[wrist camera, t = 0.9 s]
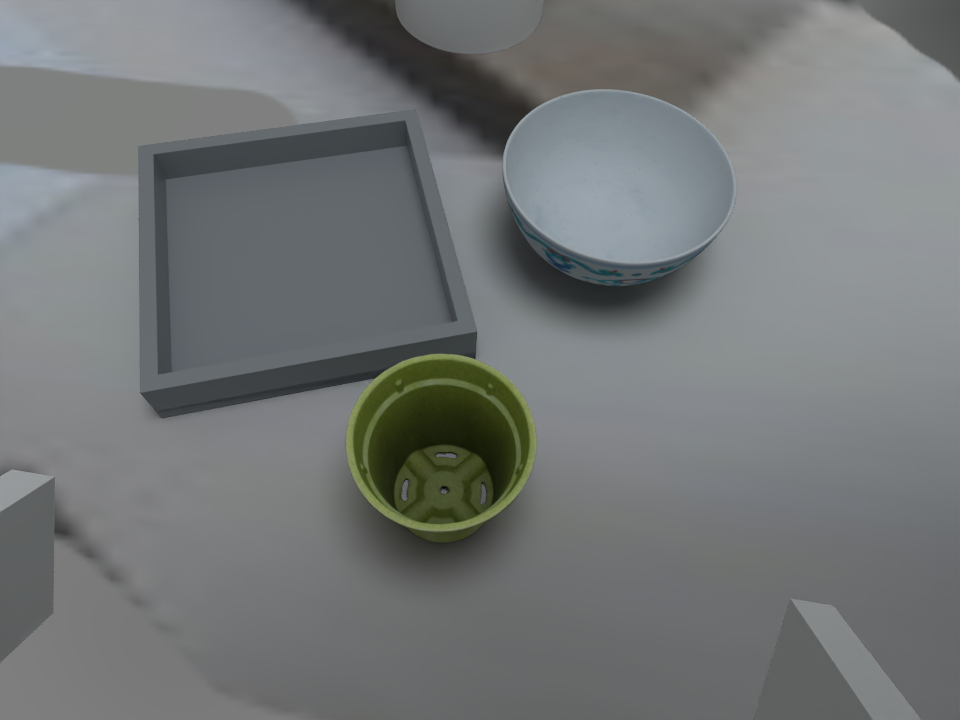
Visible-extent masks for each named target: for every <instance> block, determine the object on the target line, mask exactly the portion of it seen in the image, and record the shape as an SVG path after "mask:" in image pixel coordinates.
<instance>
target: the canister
mask: <svg viewBox="0 0 960 720" xmlns="http://www.w3.org/2000/svg"><path fill="white" fill-rule="evenodd" d="M543 3H544V0H395V7H396V13H397V16H398V19H399V21H400V22H401V24H402V25H403V27H404V28H405V29H406V30H407V31H408V32H409V33H410V34H411V35H412V36H414V37H415V38H417V39H418V40H420V41H421V42H423V43H425V44H427V45H429V46H432V47H435V48H437V49H441V50H444V51H448V52H454V53H461V54H484V53H492V52H497V51H501V50H504V49H507V48H510V47H512V46H515V45H517V44H519V43H520V42H522V41H524V40H525V39H526V38H528V37H529V36H530V35H531V34H532V33H533V32H534V31H535V29H536V28H537V27H538V25H539V23H540V20H541V17H542V11H543Z"/></svg>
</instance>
